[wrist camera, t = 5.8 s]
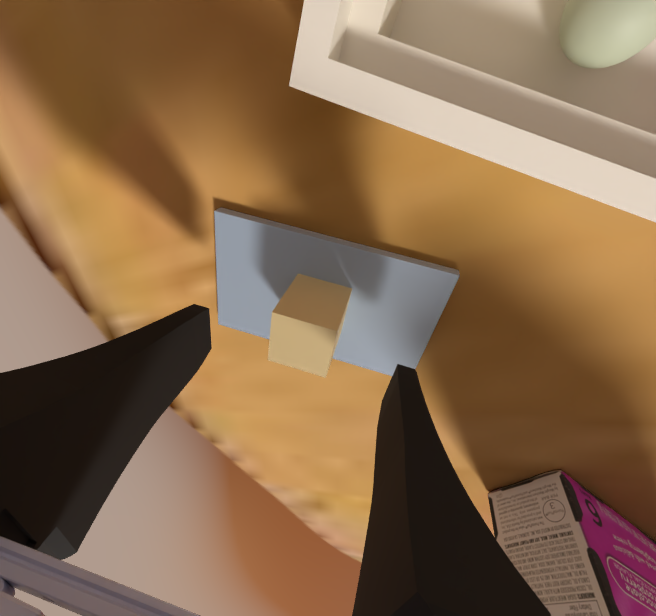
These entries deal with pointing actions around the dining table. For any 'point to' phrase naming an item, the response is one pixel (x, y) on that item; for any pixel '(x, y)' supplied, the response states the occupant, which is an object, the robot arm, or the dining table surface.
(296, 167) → the dining table surface
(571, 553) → the candy bar box
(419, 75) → the box
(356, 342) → the lid
